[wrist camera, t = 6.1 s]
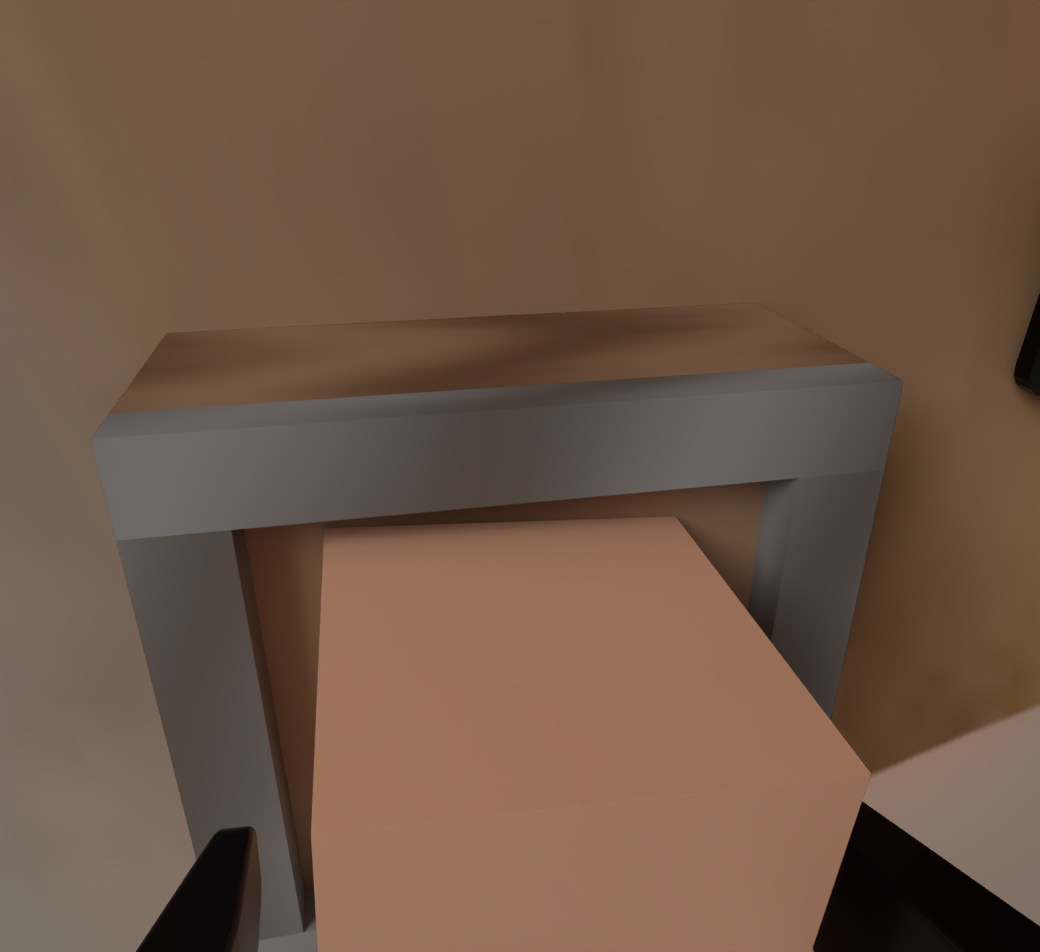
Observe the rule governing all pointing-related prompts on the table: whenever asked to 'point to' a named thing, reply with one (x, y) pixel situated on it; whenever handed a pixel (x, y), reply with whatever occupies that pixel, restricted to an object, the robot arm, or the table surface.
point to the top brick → (563, 748)
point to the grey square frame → (460, 503)
